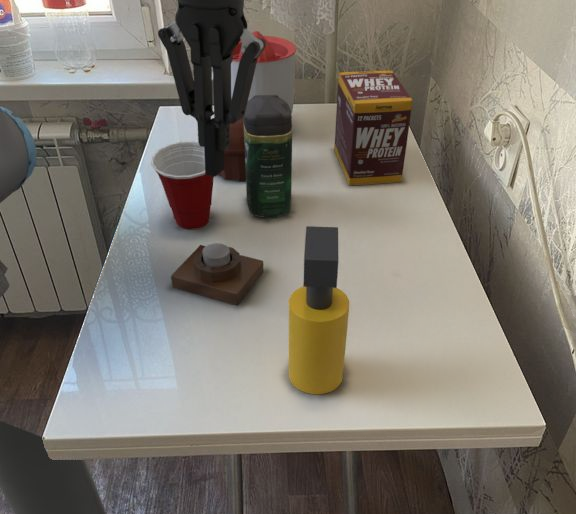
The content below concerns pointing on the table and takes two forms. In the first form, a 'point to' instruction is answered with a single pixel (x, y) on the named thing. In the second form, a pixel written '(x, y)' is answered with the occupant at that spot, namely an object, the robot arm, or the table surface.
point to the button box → (218, 277)
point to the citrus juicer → (270, 69)
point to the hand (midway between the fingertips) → (214, 171)
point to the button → (216, 255)
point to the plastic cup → (185, 182)
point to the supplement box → (371, 126)
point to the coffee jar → (268, 155)
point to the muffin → (235, 154)
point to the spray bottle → (318, 317)
